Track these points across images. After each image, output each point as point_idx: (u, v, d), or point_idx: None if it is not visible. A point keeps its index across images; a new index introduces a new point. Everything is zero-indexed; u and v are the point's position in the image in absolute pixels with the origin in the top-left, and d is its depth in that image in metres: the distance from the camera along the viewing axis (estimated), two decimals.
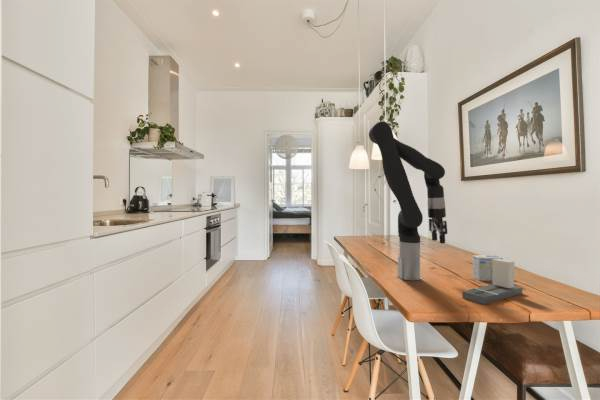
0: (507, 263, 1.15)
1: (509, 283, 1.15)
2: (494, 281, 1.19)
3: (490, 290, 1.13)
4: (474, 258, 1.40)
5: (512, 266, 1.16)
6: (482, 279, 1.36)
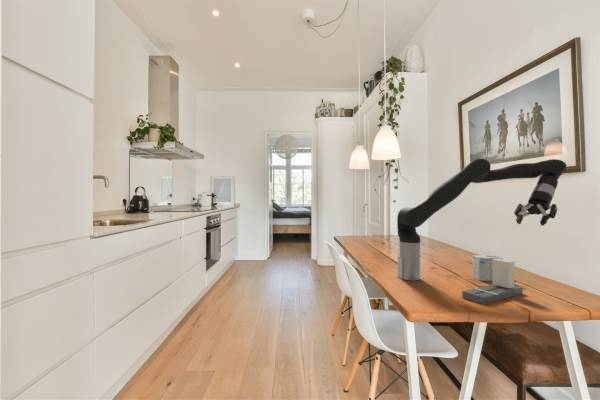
0: (507, 263, 1.15)
1: (509, 283, 1.15)
2: (494, 281, 1.19)
3: (490, 290, 1.13)
4: (474, 258, 1.40)
5: (512, 266, 1.16)
6: (482, 279, 1.36)
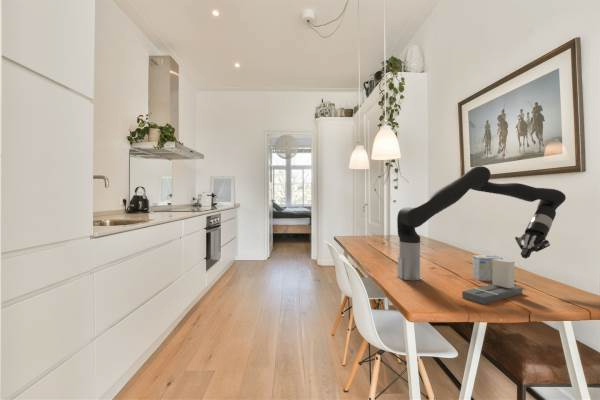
0: (507, 263, 1.15)
1: (509, 283, 1.15)
2: (494, 281, 1.19)
3: (490, 290, 1.13)
4: (474, 258, 1.40)
5: (512, 266, 1.16)
6: (482, 279, 1.36)
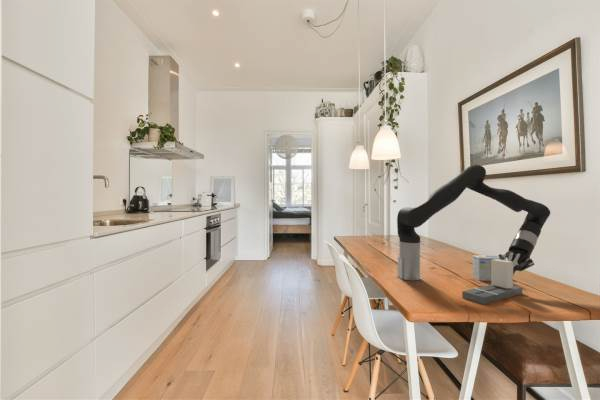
0: (506, 263, 1.14)
1: (508, 283, 1.14)
2: (493, 281, 1.19)
3: (490, 290, 1.13)
4: (474, 258, 1.40)
5: (511, 266, 1.15)
6: (482, 279, 1.36)
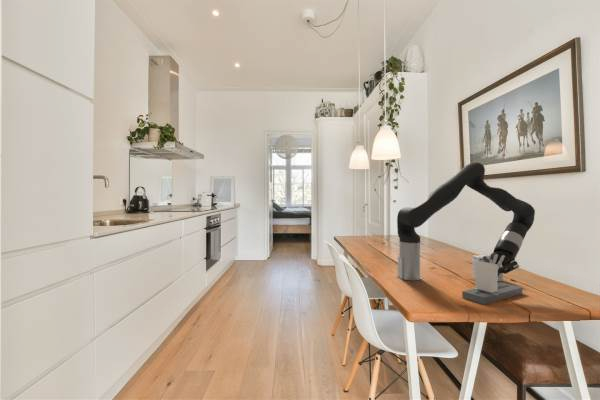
0: (490, 266, 1.09)
1: (492, 287, 1.09)
2: (477, 285, 1.14)
3: None
4: (474, 258, 1.40)
5: (495, 269, 1.10)
6: None
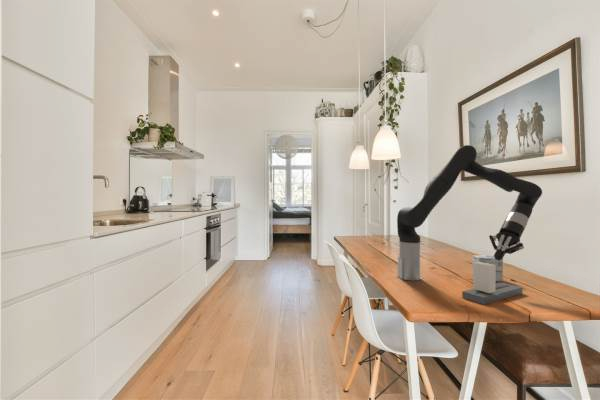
0: (488, 267, 1.09)
1: (490, 288, 1.09)
2: (475, 285, 1.13)
3: None
4: (474, 258, 1.40)
5: (493, 270, 1.10)
6: None
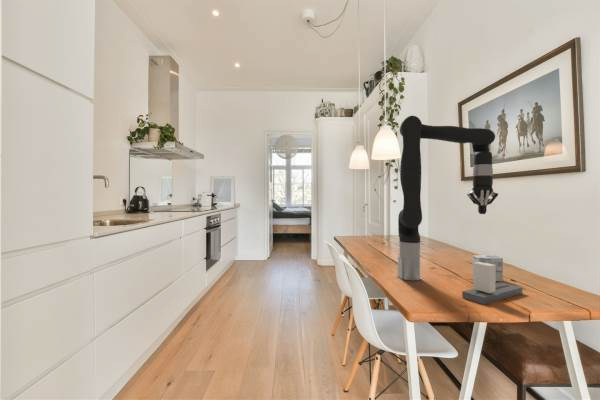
0: (488, 267, 1.09)
1: (490, 288, 1.09)
2: (475, 285, 1.13)
3: None
4: (474, 258, 1.40)
5: (493, 270, 1.10)
6: None
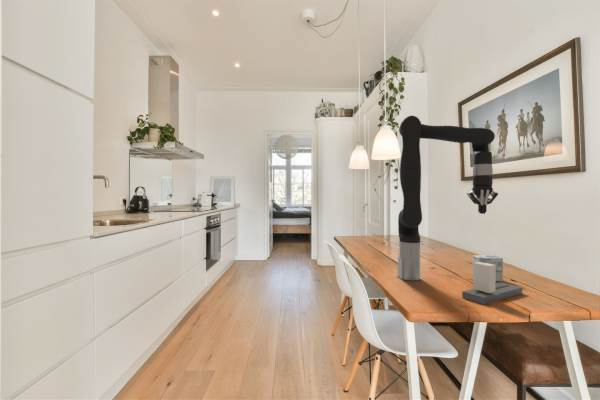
0: (488, 267, 1.09)
1: (490, 288, 1.09)
2: (475, 285, 1.13)
3: None
4: (474, 258, 1.40)
5: (493, 270, 1.10)
6: None
